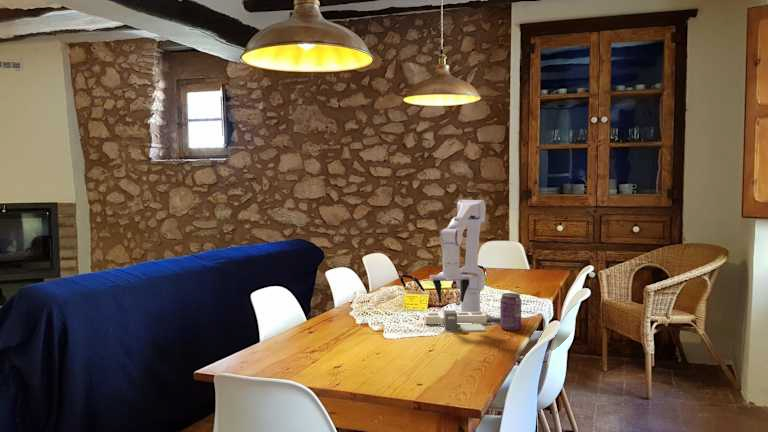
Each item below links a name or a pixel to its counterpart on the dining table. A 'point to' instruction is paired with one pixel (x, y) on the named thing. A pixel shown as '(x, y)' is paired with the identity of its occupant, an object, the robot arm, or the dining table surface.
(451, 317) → the block
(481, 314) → the power strip
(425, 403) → the dining table surface
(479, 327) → the coaster
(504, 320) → the beverage can
